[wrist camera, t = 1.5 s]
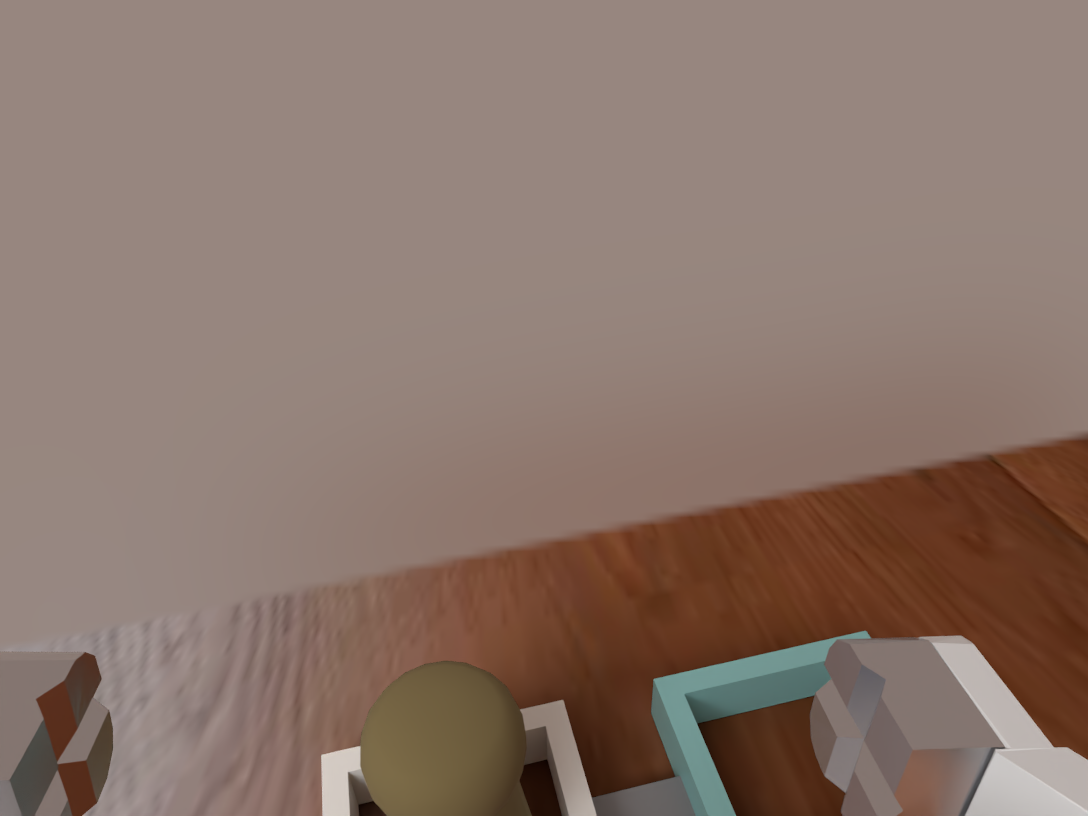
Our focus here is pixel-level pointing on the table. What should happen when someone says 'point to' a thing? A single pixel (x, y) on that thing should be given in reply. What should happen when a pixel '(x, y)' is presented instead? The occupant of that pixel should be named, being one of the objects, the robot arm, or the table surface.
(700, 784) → the teal socket
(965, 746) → the robot arm
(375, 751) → the olive pawn
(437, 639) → the table surface
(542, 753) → the white socket
